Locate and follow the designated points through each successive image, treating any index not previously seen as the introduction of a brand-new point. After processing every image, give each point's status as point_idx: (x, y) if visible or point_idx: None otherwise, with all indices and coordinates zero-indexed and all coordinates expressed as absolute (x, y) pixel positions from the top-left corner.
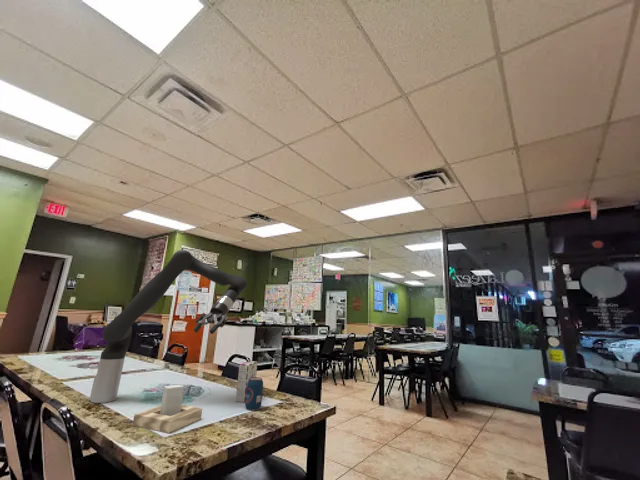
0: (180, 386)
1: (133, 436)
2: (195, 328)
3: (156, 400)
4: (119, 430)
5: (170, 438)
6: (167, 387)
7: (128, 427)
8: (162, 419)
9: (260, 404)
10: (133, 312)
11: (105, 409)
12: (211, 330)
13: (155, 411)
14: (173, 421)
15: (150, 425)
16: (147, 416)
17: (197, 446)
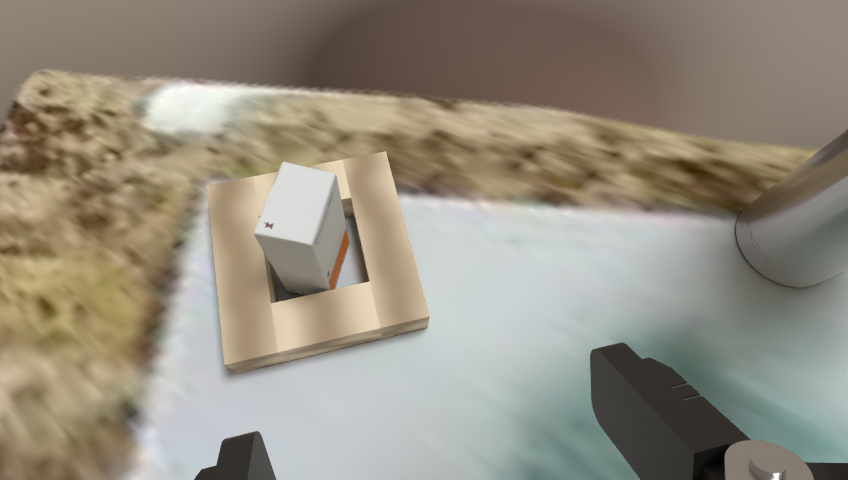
0: (265, 219)
1: (294, 133)
2: (610, 355)
3: None
4: (376, 132)
5: (180, 186)
6: (300, 169)
7: None
8: (251, 180)
9: None
10: None
11: (637, 195)
12: (223, 458)
13: (356, 211)
14: (209, 200)
15: None
16: (325, 166)
17: (52, 199)
